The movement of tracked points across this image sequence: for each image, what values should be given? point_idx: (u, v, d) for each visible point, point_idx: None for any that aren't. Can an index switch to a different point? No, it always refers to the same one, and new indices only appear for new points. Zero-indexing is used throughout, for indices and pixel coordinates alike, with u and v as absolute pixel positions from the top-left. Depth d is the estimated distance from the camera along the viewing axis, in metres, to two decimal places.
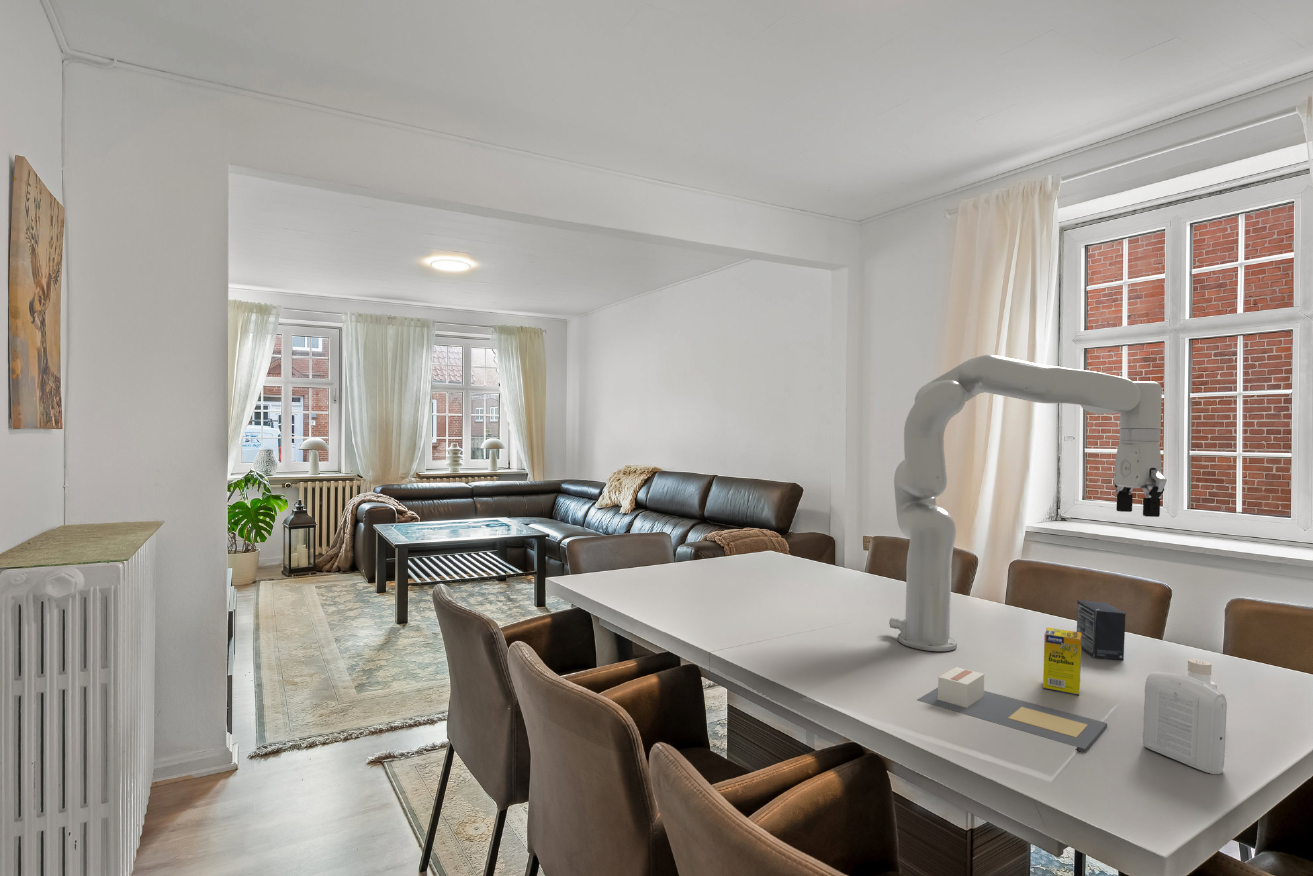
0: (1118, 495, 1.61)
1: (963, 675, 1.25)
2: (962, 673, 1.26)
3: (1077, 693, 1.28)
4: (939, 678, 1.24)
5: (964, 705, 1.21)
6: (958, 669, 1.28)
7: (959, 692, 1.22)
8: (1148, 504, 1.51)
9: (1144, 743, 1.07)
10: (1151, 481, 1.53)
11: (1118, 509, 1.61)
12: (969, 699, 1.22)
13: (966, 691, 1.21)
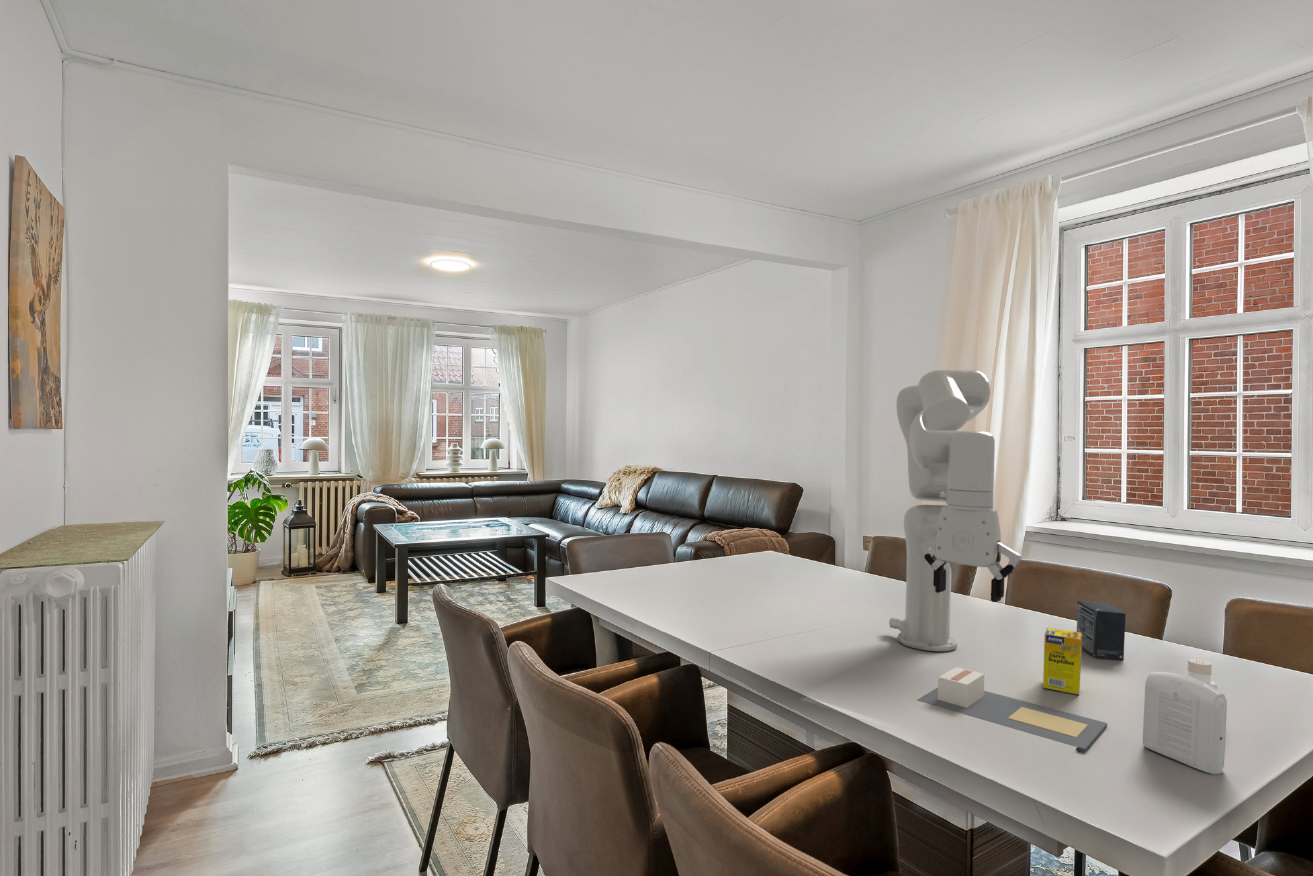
0: (938, 572, 1.28)
1: (963, 675, 1.25)
2: (962, 673, 1.26)
3: (1077, 693, 1.28)
4: (939, 678, 1.24)
5: (964, 705, 1.21)
6: (958, 669, 1.28)
7: (959, 692, 1.22)
8: (996, 587, 1.21)
9: (1144, 743, 1.07)
10: None
11: (938, 590, 1.28)
12: (969, 699, 1.22)
13: (966, 691, 1.21)
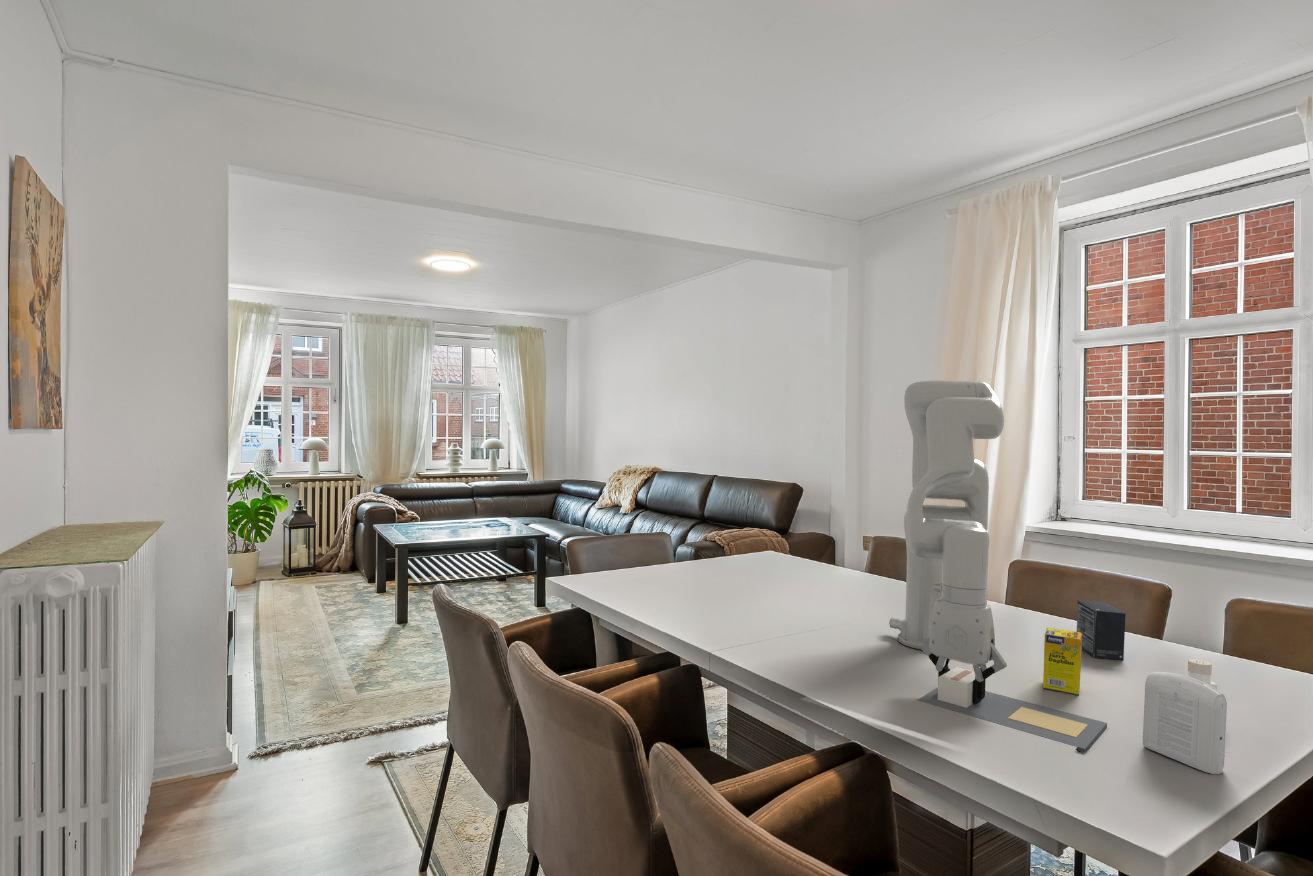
0: None
1: (963, 675, 1.25)
2: (962, 673, 1.26)
3: (1077, 693, 1.28)
4: (939, 678, 1.24)
5: (964, 705, 1.21)
6: (958, 669, 1.28)
7: (959, 692, 1.22)
8: (977, 688, 1.22)
9: (1144, 743, 1.07)
10: None
11: None
12: (969, 699, 1.22)
13: (966, 691, 1.21)
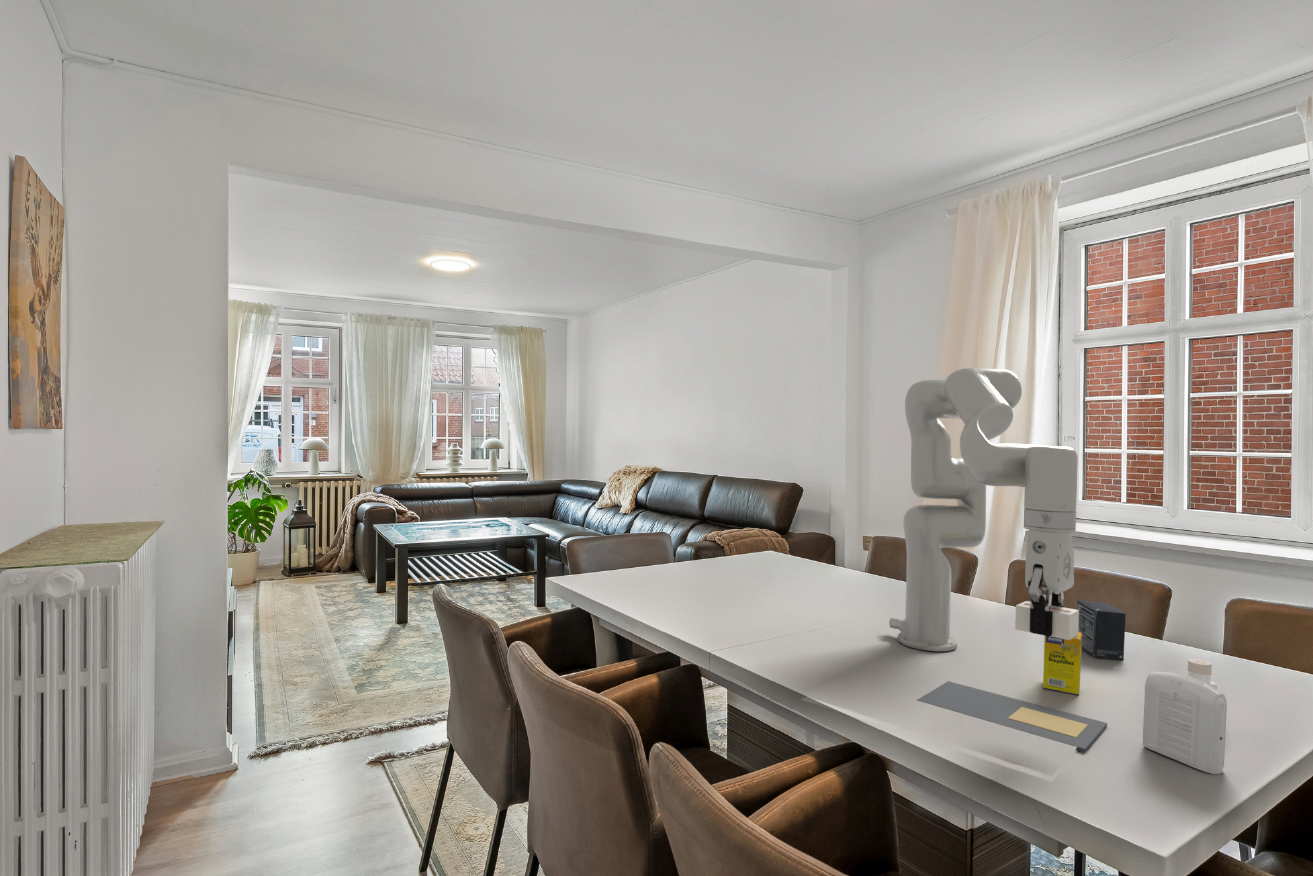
0: None
1: None
2: None
3: (1077, 693, 1.28)
4: (1070, 616, 1.11)
5: (1077, 633, 1.14)
6: (1026, 606, 1.17)
7: (1076, 621, 1.14)
8: None
9: (1144, 743, 1.07)
10: None
11: None
12: None
13: (1078, 617, 1.15)
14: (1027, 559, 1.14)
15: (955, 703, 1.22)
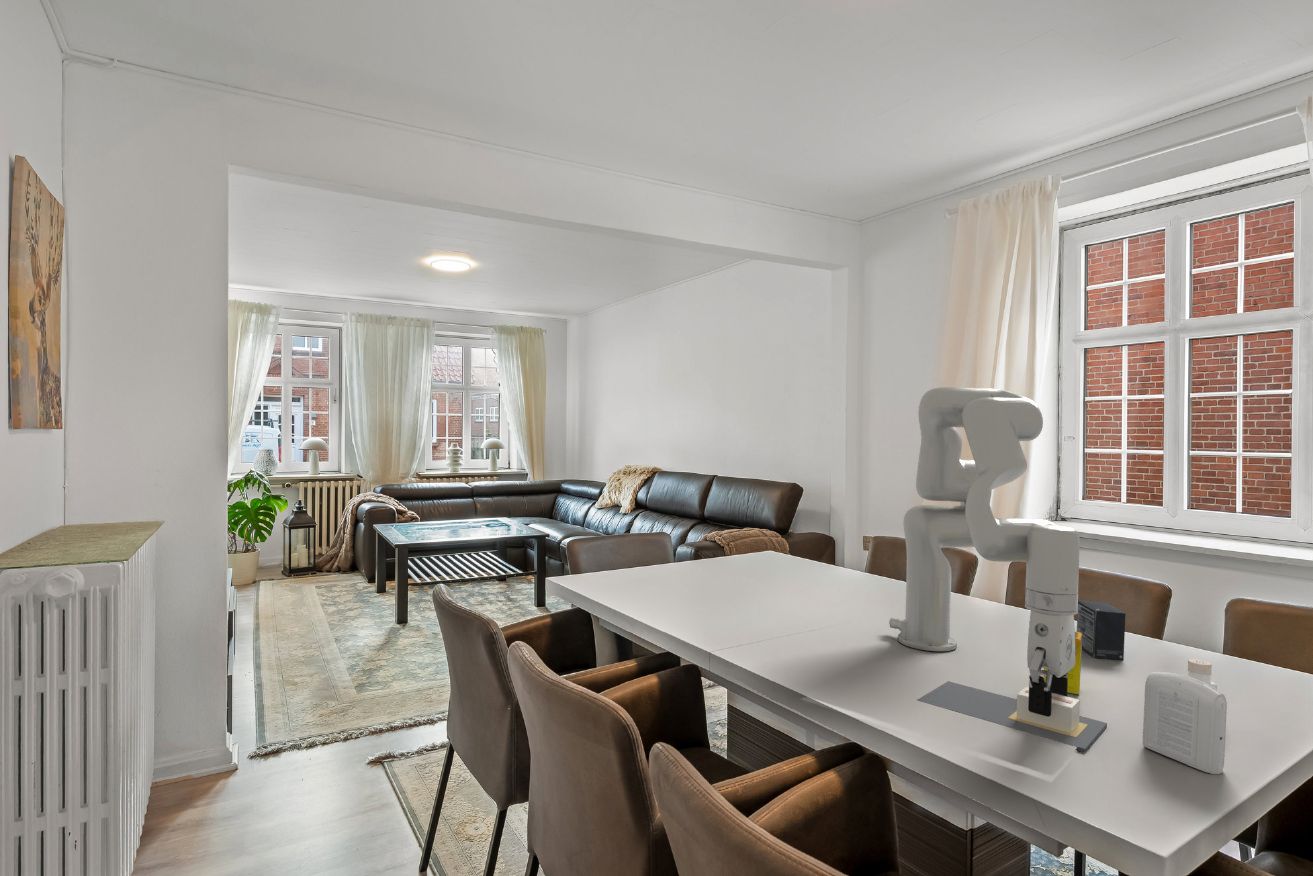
0: None
1: None
2: None
3: (1077, 693, 1.28)
4: (1072, 708, 1.11)
5: (1078, 723, 1.14)
6: (1027, 694, 1.16)
7: (1077, 712, 1.14)
8: None
9: (1144, 743, 1.07)
10: None
11: None
12: None
13: (1079, 707, 1.14)
14: (1029, 641, 1.13)
15: (955, 703, 1.22)
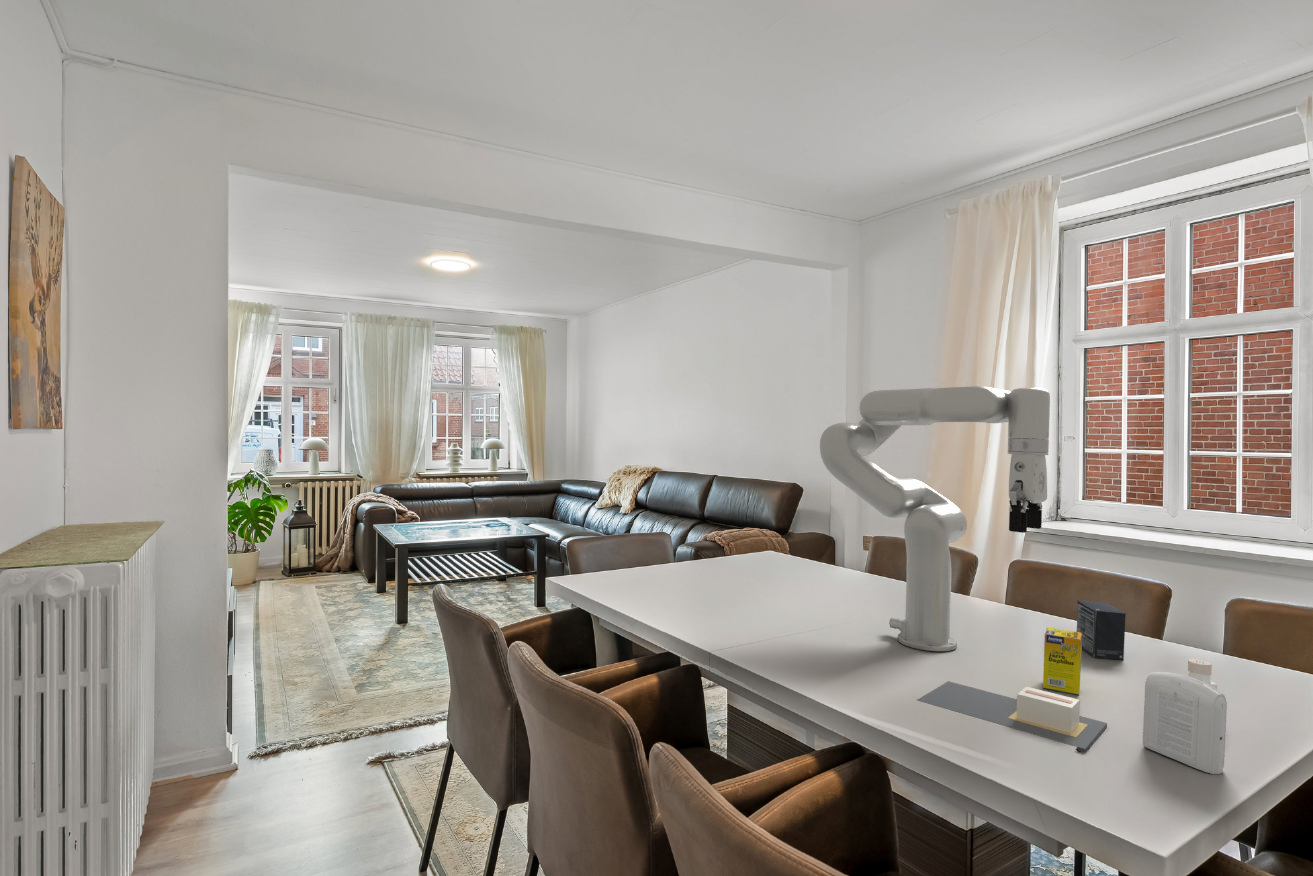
0: None
1: (1049, 695, 1.16)
2: (1041, 695, 1.16)
3: (1077, 693, 1.28)
4: (1072, 708, 1.11)
5: (1078, 723, 1.14)
6: (1027, 694, 1.16)
7: (1077, 712, 1.14)
8: None
9: (1144, 743, 1.07)
10: None
11: None
12: None
13: (1079, 707, 1.14)
14: (1010, 477, 1.44)
15: (955, 703, 1.22)
